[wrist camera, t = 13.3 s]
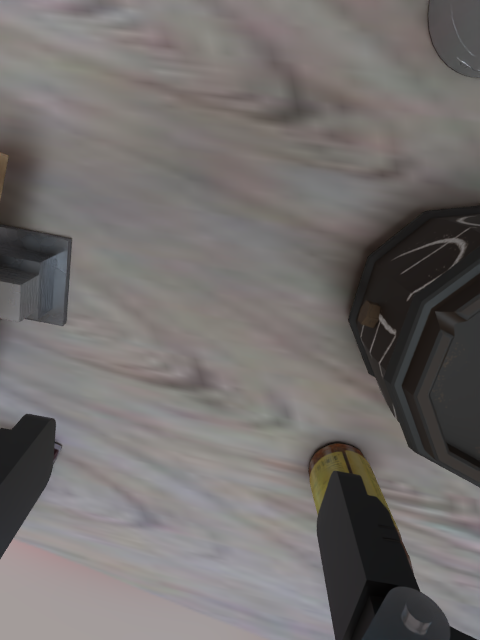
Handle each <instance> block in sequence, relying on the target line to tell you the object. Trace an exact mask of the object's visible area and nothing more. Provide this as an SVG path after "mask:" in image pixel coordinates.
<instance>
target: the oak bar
mask: <svg viewBox="0 0 480 640" xmlns="http://www.w3.org/2000/svg"><path fill="white" fill-rule="evenodd" d="M8 157H9V155H6V154H3V153H1V152H0V199H1V194H2V189H3V184H4V178H5V173H6V168H7V163H8Z"/></svg>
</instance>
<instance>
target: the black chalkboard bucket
mask: <svg viewBox="0 0 480 640" xmlns="http://www.w3.org/2000/svg"><path fill="white" fill-rule="evenodd" d="M348 320H349V323H350V326H351V328H352V331H353V333H354V336H355V339H356V341H357V344H358V347H359V349H360V352H361V355H362V357H363V360H364V362H365V365H366V368H367V370H368V373H369V374H370V375H372V376H374V377H375V378H376V380H377V383H378V386H379V388H380V391H381V393H382V395H383V397H384V399H385V401H386V402H387V404H388V406H389V408H390V410H391V412H392V413H393V415H394V417H395V418H396V419H397V420H398V422H399V423H400V425H401V428H402V430H403V433H404V436H405V438H406V441H407V444H408V446H409V448H411V449H412V450H413V451H414V452H416V453H417V454H419V455H421V456H423V457H425V458H427V459H428V460H430V461H432V462H434V463H436V464H438V465H439V466H441V467H443V468H445V469H447V470H449V471H451V472H452V473H454V474H456V475H458V476H460V477H462V478H463V479H465V480H467V481H469V482H471V483H473V484H474V485H476V486H478V487H480V206H473V207H463V208H453V209H442V210H432V211H425V212H423V213H422V214H421V215H419V216H418V217H417V218H416V219H414V220H413V221H412V222H411V223H410V224H408V225H407V226H406V227H405V228H403V229H402V230H401V231H400V232H398V233H397V234H396V235H395V236H393V237H392V238H391V239H390V240H388V241H387V242H386V243H385V244H383V245H382V246H381V247H380V248H378V249H377V250H376V251H375V252H373V253H372V254H371V255H370V256H368V259H367V262H366V265H365V268H364V271H363V274H362V277H361V280H360V284H359V287H358V290H357V293H356V296H355V299H354V302H353V305H352V308H351V312H350V315H349V319H348Z"/></svg>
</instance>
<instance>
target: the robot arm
mask: <svg viewBox="0 0 480 640" xmlns="http://www.w3.org/2000/svg"><path fill="white" fill-rule="evenodd" d="M428 19H429V31H430V35H431V38H432V42H433V45H434V47H435V49H436V51H437V53H438V54H439V56H440V57H441V58H442V60H443V61H444V62H445V63H446V64H447V65H448V66H449V67H451V68H452V69H454V70H455V71H457V72H458V73H461V74H464V75H466V76H469V77H478V78H480V0H430V4H429V12H428ZM55 429H56V422H55V419H54V418H48V417H43V416H37V415H32V414H26V415H24V416H23V417H22V419H21V420H20V421H19V422H18V423H17V424H16V425H15V426H14V428H13V429H12V430H9V429H3V428H1V429H0V559H1V557H2V555H3V554H4V552H5V551H6V549H7V547H8V546H9V544H10V543H11V541H12V539H13V538H14V536H15V535H16V533H17V532H18V530H19V528H20V527H21V525H22V524H23V522H24V520H25V519H26V517H27V516H28V514H29V512H30V511H31V509H32V508H33V506H34V504H35V503H36V501H37V500H38V498H39V496H40V495H41V493H42V492H43V490H44V488H45V487H46V485H47V483H48V481H49V478H50V475H51V472H52V468H53V460H54V445H55ZM317 537H318V542H319V548H320V554H321V560H322V565H323V571H324V577H325V583H326V588H327V594H328V600H329V606H330V611H331V617H332V623H333V629H334V634H335V640H477V639H475V638H473V637H471V636H468V635H466V634H464V633H462V632H460V631H458V630H456V629H454V628H452V627H451V626H449V623H448V620H447V618H446V616H445V615H444V613H443V612H442V610H441V609H440V608H439V606H438V605H437V604H436V603H435V602H434V601H433V600H432V599H430V598H429V597H428V596H426V595H425V594H423V593H422V592H420V590H419V587H418V584H417V582H416V579H415V577H414V574H413V572H412V569H411V566H410V564H409V561H408V559H407V556H406V554H405V551H404V548H403V546H402V544H401V543H400V538H399V536H398V533H397V530H395V525H394V523H393V520H392V518H391V515H390V512H389V511H388V510H387V508H386V507H385V506H384V505H383V504H382V502H381V501H380V500H379V499H378V498H377V497H376V496H371V495H368V494H367V491H366V488H365V485H364V482H363V480H362V477H361V476H360V475H357V474H351V473H346V472H340V471H333V472H332V474H331V476H330V479H329V482H328V485H327V488H326V491H325V494H324V497H323V500H322V503H321V506H320V509H319V513H318V518H317Z"/></svg>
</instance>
